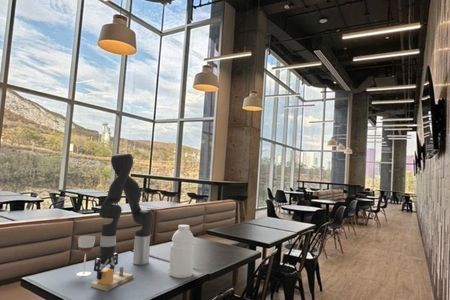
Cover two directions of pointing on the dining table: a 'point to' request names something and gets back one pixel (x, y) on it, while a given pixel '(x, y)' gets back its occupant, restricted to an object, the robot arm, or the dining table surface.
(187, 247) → the bottle
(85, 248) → the wineglass
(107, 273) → the wooden toy cube
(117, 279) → the wooden peg rack
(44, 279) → the dining table surface
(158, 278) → the dining table surface
